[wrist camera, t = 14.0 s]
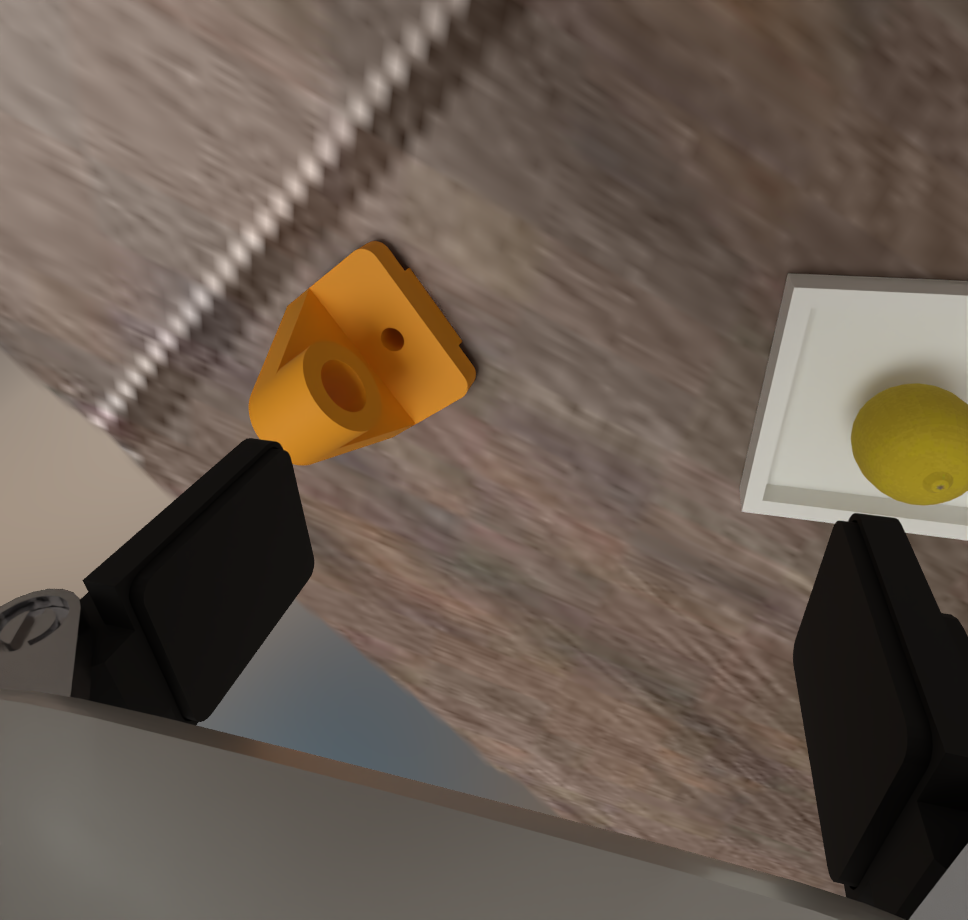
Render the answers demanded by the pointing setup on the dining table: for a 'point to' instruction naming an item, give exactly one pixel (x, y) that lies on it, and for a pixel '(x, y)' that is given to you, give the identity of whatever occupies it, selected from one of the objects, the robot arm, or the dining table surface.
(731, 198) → the dining table surface
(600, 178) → the dining table surface
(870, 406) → the lemon
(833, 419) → the tray
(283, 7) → the dining table surface
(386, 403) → the bracket
